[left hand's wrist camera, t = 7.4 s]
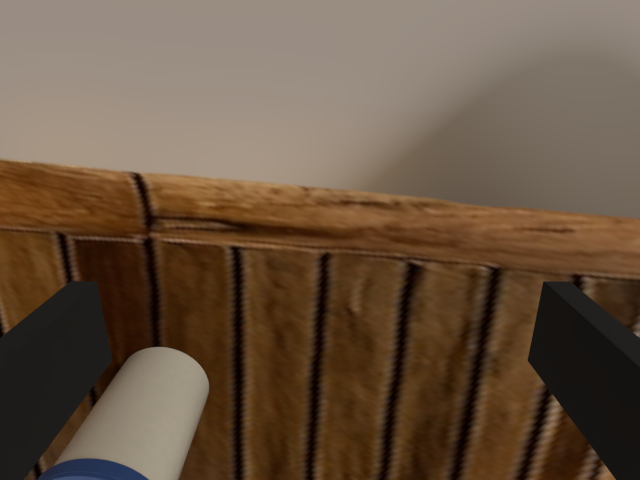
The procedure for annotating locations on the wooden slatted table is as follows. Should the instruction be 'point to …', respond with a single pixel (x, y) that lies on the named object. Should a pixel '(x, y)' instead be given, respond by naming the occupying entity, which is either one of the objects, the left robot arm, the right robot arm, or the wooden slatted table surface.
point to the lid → (91, 471)
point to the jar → (145, 415)
